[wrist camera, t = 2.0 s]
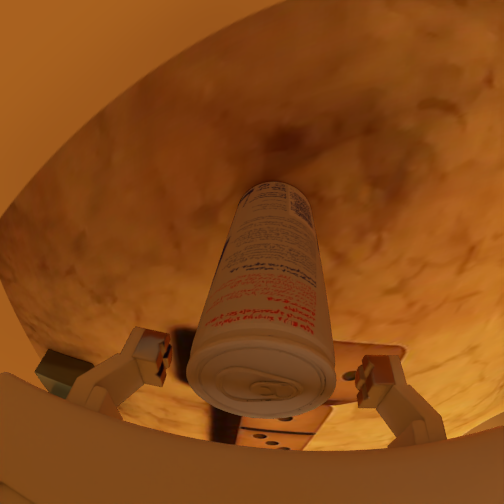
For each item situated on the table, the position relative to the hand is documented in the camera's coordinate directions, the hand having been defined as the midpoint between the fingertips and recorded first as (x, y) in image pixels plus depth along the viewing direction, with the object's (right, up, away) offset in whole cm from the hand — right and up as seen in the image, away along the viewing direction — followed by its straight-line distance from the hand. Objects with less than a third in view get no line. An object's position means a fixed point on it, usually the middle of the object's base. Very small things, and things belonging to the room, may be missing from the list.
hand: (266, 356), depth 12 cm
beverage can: (+1, +7, +11) cm, 13 cm away
